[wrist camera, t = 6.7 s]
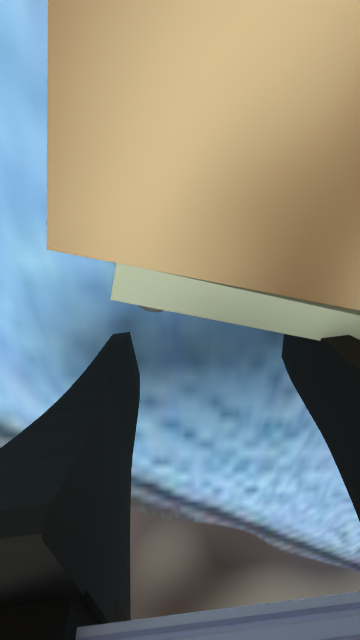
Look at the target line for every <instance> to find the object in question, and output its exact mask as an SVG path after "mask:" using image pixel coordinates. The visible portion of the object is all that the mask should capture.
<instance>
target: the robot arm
mask: <svg viewBox="0 0 360 640" xmlns="http://www.w3.org/2000/svg"><path fill="white" fill-rule="evenodd" d="M282 359H283V361H284V364H285V367H286V369H287V372H288V374H289V376H290V379H291V381H292V383H293V385H294V386H295V388H296V390H297V392H298V393H299V395H300V397H301V399H302V400H303V402H304V404H305V406H306V407H307V409H308V411H309V413H310V414H311V416H312V418H313V419H314V421H315V423H316V425H317V426H318V428H319V430H320V432H321V433H322V435H323V437H324V439H325V441H326V443H327V445H328V447H329V449H330V452H331V454H332V456H333V458H334V461H335V463H336V465H337V467H338V470H339V472H340V474H341V477H342V479H343V481H344V484H345V486H346V489H347V491H348V493H349V496H350V498H351V500H352V503H353V506H354V508H355V511H356V513H357V516H358V518H359V521H360V340H359V339H357V338H355V337H353V336H351V335H343V336H335V337H326V338H321V340H320V341H319V340H314V339H309V338H304V337H299V336H293V335H288V334H284V339H283V349H282ZM139 400H140V374H139V370H138V365H137V361H136V357H135V352H134V348H133V344H132V339H131V335H130V332H126V333H118V334H113V335H112V336H111V337H110V339H109V340H108V341H107V343H106V344H105V345H104V347H103V348H102V349H101V351H100V352H99V353H98V355H97V356H96V357H95V359H94V360H93V361H92V363H91V364H90V365H89V366H88V368H87V369H86V370H85V371H84V373H83V374H82V375H81V376H80V377H79V378H78V380H77V381H76V382H75V383H74V384H73V385H72V386H71V387H70V389H69V390H68V391H67V392H66V393H65V394H64V395H63V396H62V397H61V398H60V399H59V400H58V401H57V402H56V403H55V404H54V405H52V406H51V407H50V408H49V409H48V410H47V411H46V412H45V413H44V414H43V415H42V416H40V417H39V418H38V419H37V420H35V421H34V422H33V423H32V424H31V425H29V426H28V427H27V428H26V429H25V430H23V431H22V432H21V433H20V434H19V435H17V436H16V437H15V438H13V439H12V440H11V441H9V442H8V443H7V444H5V445H4V446H3V447H1V448H0V640H360V591H359V592H351V593H344V594H335V595H328V596H319V597H312V598H304V599H296V600H288V601H280V602H272V603H264V604H257V605H248V606H241V607H233V608H225V609H217V610H209V611H201V612H193V613H185V614H177V615H170V616H161V617H154V618H146V619H138V620H131V618H130V501H131V467H132V455H133V447H134V440H135V432H136V424H137V416H138V408H139Z"/></svg>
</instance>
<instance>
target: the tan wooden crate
mask: <svg viewBox="0 0 360 640" xmlns="http://www.w3.org/2000/svg"><path fill="white" fill-rule="evenodd" d="M47 250H52V251H57V252H63V253H68V254H73V255H78V256H83V257H88V258H93V259H98V260H103V261H109V262H114V263H119V264H124V265H129V266H134V267H139V268H144V269H150V270H155V271H160V272H165V273H170V274H175V275H180V276H185V277H191V278H196V279H201V280H206V281H211V282H216V283H221V284H226V285H232V286H237V287H242V288H247V289H252V290H257V291H262V292H267V293H273V294H278V295H283V296H288V297H293V298H298V299H303V300H308V301H314V302H319V303H324V304H329V305H334V306H339V307H344V308H349V309H354V310H360V0H48V111H47Z"/></svg>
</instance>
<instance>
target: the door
mask: <svg viewBox="0 0 360 640" xmlns="http://www.w3.org/2000/svg"><path fill="white" fill-rule="evenodd" d="M110 300H114V301H120V302H125V303H130V304H135V305H138V306H140V307H141V308H143V309H145V310H147V311H151V312H161V311H164V310H166V311H171V312H176V313H181V314H186V315H191V316H196V317H201V318H206V319H212V320H217V321H222V322H227V323H232V324H237V325H242V326H247V327H253V328H258V329H263V330H268V331H273V332H278V333H283V334H288V335H293V336H299V337H304V338H309V339H314V340H319V341H320V340H321V338H326V337H335V336H343V335H351V336H353V337H355V338H357V339H359V340H360V310H354V309H349V308H344V307H339V306H334V305H329V304H324V303H319V302H314V301H308V300H303V299H298V298H293V297H288V296H283V295H278V294H273V293H267V292H262V291H257V290H252V289H247V288H242V287H237V286H232V285H226V284H221V283H216V282H211V281H206V280H201V279H196V278H191V277H185V276H180V275H175V274H170V273H165V272H160V271H155V270H150V269H144V268H139V267H134V266H129V265H124V264H119V263H116V268H115V274H114V280H113V286H112V293H111V299H110Z"/></svg>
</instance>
